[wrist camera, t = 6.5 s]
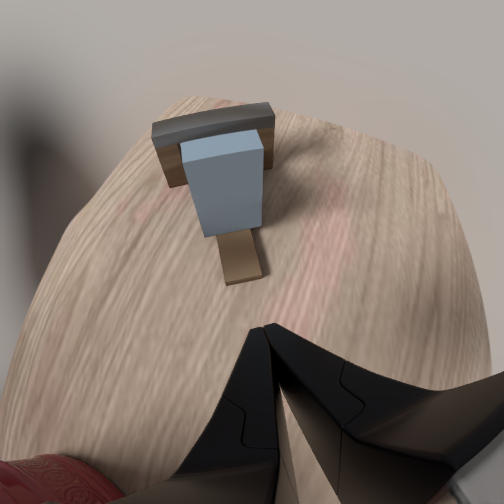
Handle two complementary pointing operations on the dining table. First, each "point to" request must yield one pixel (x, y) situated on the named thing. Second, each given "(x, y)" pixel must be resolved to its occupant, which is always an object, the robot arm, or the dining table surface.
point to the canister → (54, 482)
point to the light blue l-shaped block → (226, 180)
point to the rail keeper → (170, 156)
